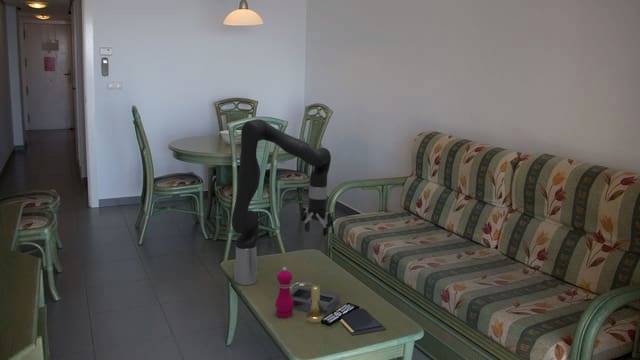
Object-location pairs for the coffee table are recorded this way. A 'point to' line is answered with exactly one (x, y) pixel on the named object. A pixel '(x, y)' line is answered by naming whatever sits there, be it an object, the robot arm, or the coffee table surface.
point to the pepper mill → (284, 294)
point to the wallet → (361, 322)
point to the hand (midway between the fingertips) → (316, 233)
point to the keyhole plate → (326, 300)
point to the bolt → (315, 306)
